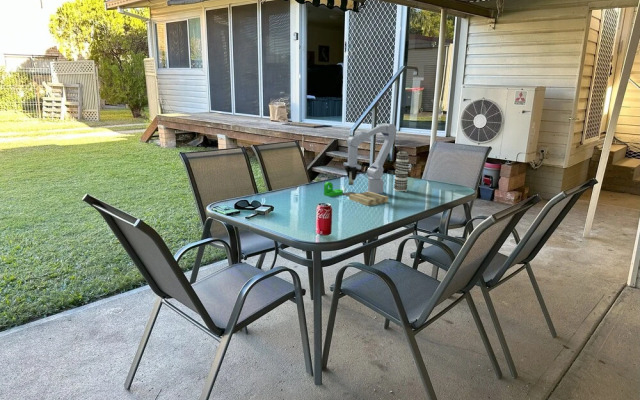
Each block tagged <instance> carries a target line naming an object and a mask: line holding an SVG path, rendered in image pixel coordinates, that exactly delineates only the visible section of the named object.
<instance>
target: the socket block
mask: <svg viewBox="0 0 640 400" xmlns="http://www.w3.org/2000/svg"><path fill="white" fill-rule="evenodd" d="M356 193H357V192H356ZM348 199H349V200H350V201H353V202H355V203H358V204H361V205H364V206H374V205H380V204H385V203H388V202H389V196H386V195H383V194H381V193H378V194H376V193H373V192H365V191H364V192H358V193H357V194H351V195H349V197H348Z"/></svg>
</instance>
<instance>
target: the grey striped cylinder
mask: <svg viewBox="0 0 640 400" xmlns="http://www.w3.org/2000/svg"><path fill="white" fill-rule="evenodd" d="M409 158H410V154H409V153H408V152H407V151H403V150H402V151H398V152H397V153H396V160H395V161H394V162H395V165H394V166H395V167H394V169H395V170H394V173H395V176H394V185H393V190H394V191H395V190H396V191H395V192H399V191H405V192H407V191H406V190H408V181H409V180H408V179H409V178H408V174H409V170H410V168H409V166H410V159H409Z"/></svg>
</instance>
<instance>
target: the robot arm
mask: <svg viewBox="0 0 640 400" xmlns="http://www.w3.org/2000/svg"><path fill="white" fill-rule="evenodd" d="M397 132H398V129H397V127H396V125H395V124H394V123H386V122H383V123H379V124H378V125H376V126H375V127H373V128H371V129H369V130H368V131H364V130H362V131H360V132H359V133H357V134H354V135H353V136H349V137H348V138H347V140H346V145H347V162H346V161H345V162H343V164H342V165H343V166H344V169H345V171H346V175H347V179H348V180H349V171H351V172H352V180H354V181H355V180H356V179H357V175H358V174H359V171H360V170H362V165H360V164H358V150H359V149H358V147H359V146H360V144H362V143H364V142H366V141H369V139H370V137H373V136H374V135H377V134H380V133H381V135H382V136H383V138H384V140H383V141H384V142H383V144H382V146H381V148H380V150H379V152H378V153H377V157H376V159H375V161H374V162H373V163H372V164H370V166H369V167H368V168H367V170H366V175H367V178H368V181H367V182H368V183H367V190H365V191H364V192H373V193H376V194H384V193H385V191H384V179H383V178H382V177H383V174H384V170H385V168H384V167H383V166H384V164H385V162H386V159H387V157H388V156H389V153H390V151H391V149H392V147H393V145H394V143H395V140H396V133H397Z"/></svg>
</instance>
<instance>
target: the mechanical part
mask: <svg viewBox="0 0 640 400" xmlns="http://www.w3.org/2000/svg"><path fill="white" fill-rule="evenodd" d="M343 193H344V190H343V189H340V188H335V189H334V184H333V182H331V181H326V182H325V183H324V186H323V196H327V197H331V198H332V197H338V196H341V195H342V194H343Z"/></svg>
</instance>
